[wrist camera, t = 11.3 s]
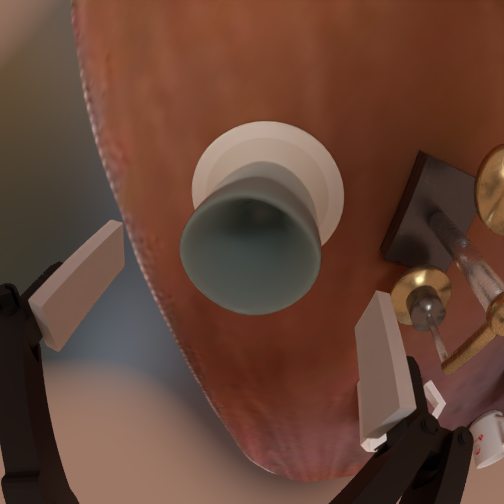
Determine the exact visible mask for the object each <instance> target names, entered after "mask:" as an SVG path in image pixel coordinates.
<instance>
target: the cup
mask: <svg viewBox="0 0 504 504" xmlns="http://www.w3.org/2000/svg"><path fill="white" fill-rule="evenodd" d="M321 255H322V247H321V236H320V227H319V221H318V216H317V212H316V208H315V204H314V201H313V199H312V197H311V195H310V193H309V191H308V189H307V187H306V186H305V184H304V183H303V182H302V180H301V179H300V178H299V177H298V176H297V175H296V174H294V173H293V172H292V171H291V170H289V169H288V168H286V167H285V166H283V165H280V164H278V163H276V162H270V161H255V162H252V163H248V164H245V165H243V166H241V167H239V168H237V169H235V170H234V171H232V172H231V173H230V174H228V175H227V176H226V177H224V178H223V179H222V180H221V181H220V182H219V183H218V184H217V185H216V186H215V187H214V188H213V189H212V190H211V192H210V193H209V194H208V195H207V196H206V197H205V199H204V200H203V201H202V202H201V203H200V205H199V206H198V207H197V208H196V209H195V211H194V212H193V213H192V215H191V216H190V218H189V220H188V222H187V224H186V226H185V227H184V229H183V233H182V236H181V240H180V258H181V262H182V265H183V267H184V269H185V271H186V273H187V275H188V277H189V279H190V280H191V281H192V283H193V284H194V285H195V287H196V288H197V289H198V290H199V291H200V292H201V293H202V294H203V295H205V296H206V297H207V298H209V299H210V300H211V301H213V302H214V303H216V304H218V305H219V306H221V307H223V308H225V309H228V310H230V311H233V312H235V313H240V314H245V315H263V314H270V313H273V312H276V311H280V310H282V309H284V308H286V307H288V306H290V305H292V304H294V303H295V302H296V301H298V300H299V299H301V298H302V297H303V296H304V295H305V294H306V293H307V292H308V291H309V290H310V289H311V287H312V286H313V284H314V282H315V281H316V279H317V277H318V273H319V270H320V267H321Z"/></svg>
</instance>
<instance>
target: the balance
mask: <svg viewBox="0 0 504 504" xmlns="http://www.w3.org/2000/svg"><path fill="white" fill-rule="evenodd" d="M476 212H477V213H478V216H479V217H480V219H481V220H482V222H483V223H484V224H485V225H486V226H487V227H488V228H489V229H490V230H492V231H493V232H495V233H497V234H499V235H504V144H501V145H498V146H496V147H495V148H493V149H492V150H491V151H490V152H489V153H488V154H487V155H486V156H485V158H484V159H483V161H482V162H481V164H480V166H479V169H478V171H477V174H476V178H475V177H473V176H472V175H470V174H468V173H466V172H464V171H462V170H460V169H458V168H456V167H454V166H452V165H450V164H448V163H446V162H444V161H442V160H440V159H438V158H436V157H434V156H431V155H429V154H427V153H425V152H423V151H420V150H419V153H418V156H417V159H416V161H415V164H414V167H413V170H412V172H411V175H410V178H409V180H408V183H407V186H406V188H405V191H404V193H403V196H402V198H401V201H400V203H399V206H398V208H397V211H396V213H395V215H394V218H393V220H392V223H391V225H390V227H389V229H388V232H387V234H386V236H385V238H384V241H383V243H382V245H381V247H380V250H381V252H382V255H383V257H384V260H387V261H391V262H394V263H398V264H401V265H404V266H408V267H411V269H409V270H407V271H405V272H404V273H403V274H401V275H400V276H399V277H398V278H397V279H396V280H395V282H394V283H393V284H392V286H391V288H390V290H389V294H390V298H391V301H392V305H393V308H394V312H395V315H396V319H397V321H398V322H400V323H403V324H408V325H413V327H414V328H415V329H416V330H418V331H429V330H430V331H431V334H432V336H433V339H434V342H435V345H436V348H437V350H438V353H439V356H440V359H441V362H442V364H441V367H442V370H443V372H444V373H445V374H447V375H451V374H452V373H454V372H455V371H456V370H457V369H459V368H460V367H461V366H462V365H464V364H465V363H466V362H467V361H468V360H470V359H471V358H472V357H473V356H474V355H476V354H477V353H478V352H479V351H480V350H481V349H482V348H483V347H485V346H486V345H487V344H488V343H489V342H490V341H491V340H492V339H493V338H494V337H495V336H496V335H498V336H503V337H504V283H503V282H502V280H501V279H500V278H499V276H498V275H497V274H496V272H495V271H494V270H493V268H492V267H491V266H490V264H489V263H488V262H487V261H486V259H485V258H484V257H483V256H482V254H481V253H480V252H479V251H478V250H477V248H476V247H475V246H474V245H473V244H472V242H471V241H470V240H469V239H468V238H467V237H466V236H465V235H466V233H467V231H468V229H469V227H470V225H471V223H472V221H473V218H474V216H475V214H476ZM452 260H453V261H454V262H455V264H456V265H457V266H458V268H459V269H460V271H461V272H462V274H463V275H464V277H465V279H466V280H467V282H468V283H469V285H470V286H471V288H472V290H473V291H474V293H475V294H476V296H477V298H478V299H479V301H480V303H481V304H482V306H483V308H484V310H485V311H486V321H485V323H484V324H483V325H482V326H481V327H480V328H479V329H478V330H477V331H476V332H475V333H473V334H472V335H471V336H470V337H469V338H468V339H467V340H466V341H465V342H464V343H463V344H462V345H461V346H460V347H459V348H457V349H456V350H455V351H454V352H453V353H452V354H451V355H450V356H448V355H447V352H446V349H445V347H444V344H443V341H442V339H441V336H440V333H439V331H438V328H437V326H438V325H439V324H440V323H441V322H442V321H443V319H444V318H445V314H446V311H445V307H446V305H447V303H448V301H449V299H450V296H451V289H452V288H451V283H450V281H449V279H448V277H447V275H446V274H445V273H446V271H447V269H448V267H449V266H450V264H451V262H452Z"/></svg>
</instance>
